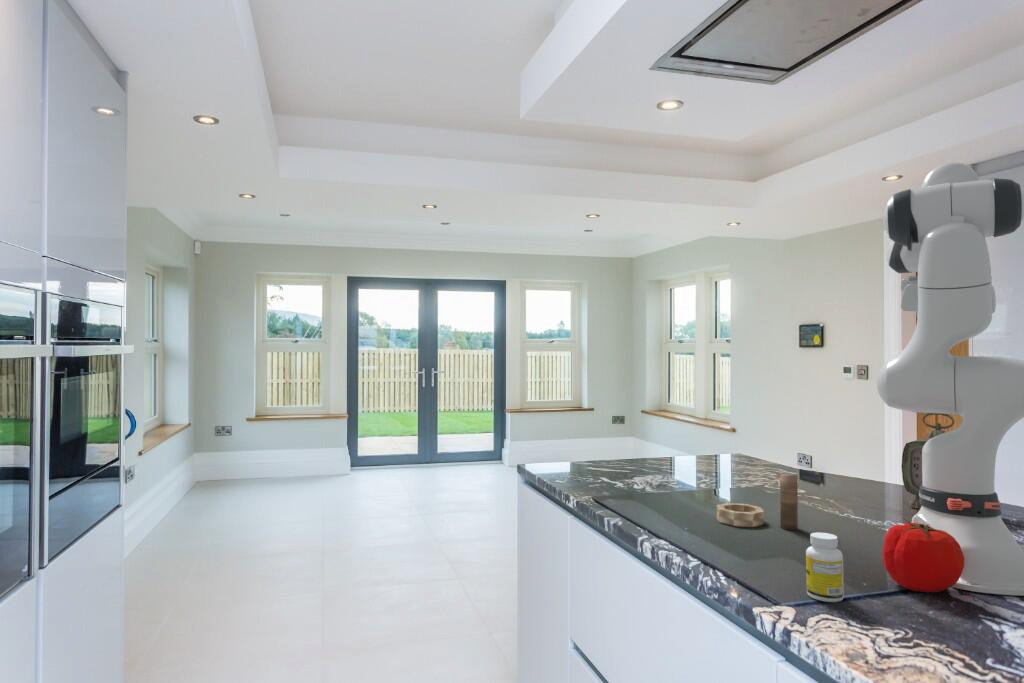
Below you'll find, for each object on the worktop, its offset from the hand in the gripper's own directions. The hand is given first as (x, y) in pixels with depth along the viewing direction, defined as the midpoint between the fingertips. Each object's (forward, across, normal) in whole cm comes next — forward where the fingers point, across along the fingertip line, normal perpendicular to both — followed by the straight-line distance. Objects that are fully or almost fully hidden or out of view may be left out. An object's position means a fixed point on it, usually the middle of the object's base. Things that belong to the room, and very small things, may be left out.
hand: (944, 328), depth 164 cm
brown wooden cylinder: (+31, -20, -61) cm, 71 cm away
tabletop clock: (+43, +4, -19) cm, 47 cm away
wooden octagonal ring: (+32, -31, -62) cm, 77 cm away
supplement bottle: (+17, -4, -98) cm, 100 cm away
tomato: (+20, +8, -84) cm, 87 cm away
